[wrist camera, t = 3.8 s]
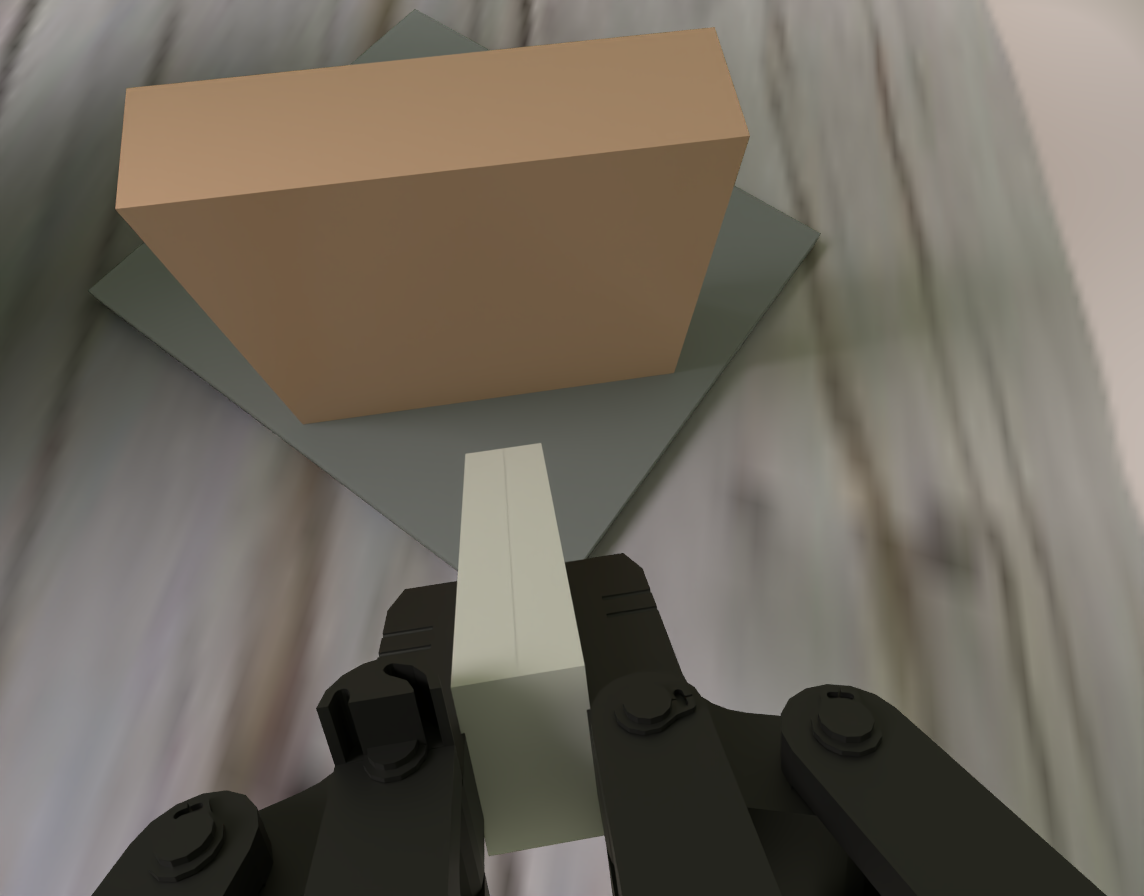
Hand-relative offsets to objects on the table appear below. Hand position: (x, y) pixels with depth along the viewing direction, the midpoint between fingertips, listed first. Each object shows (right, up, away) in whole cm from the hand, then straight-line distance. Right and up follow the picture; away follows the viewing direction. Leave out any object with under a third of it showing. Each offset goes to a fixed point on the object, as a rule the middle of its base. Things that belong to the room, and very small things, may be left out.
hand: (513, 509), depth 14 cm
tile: (-2, +4, +9) cm, 10 cm away
